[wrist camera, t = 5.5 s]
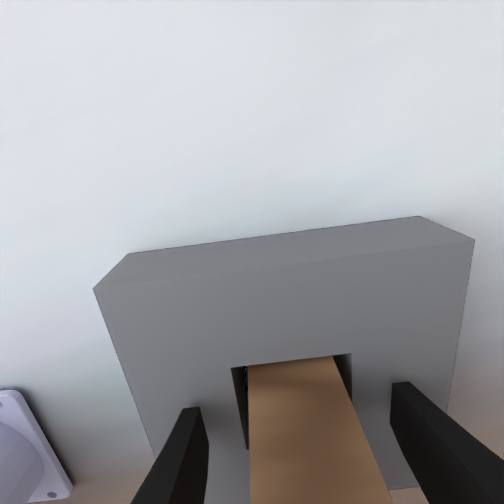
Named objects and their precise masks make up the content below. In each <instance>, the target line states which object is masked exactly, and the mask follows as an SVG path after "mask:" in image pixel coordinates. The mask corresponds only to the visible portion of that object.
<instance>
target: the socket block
mask: <svg viewBox="0 0 504 504" xmlns="http://www.w3.org/2000/svg"><path fill="white" fill-rule="evenodd" d="M474 242H475V239H472V238H470V237H468V236H465V235H463V234H461V233H458V232H456V231H454V230H451V229H449V228H446V227H444V226H442V225H439V224H437V223H435V222H432V221H430V220H428V219H425V218H423V217H421V216H414V217H407V218H399V219H391V220H384V221H376V222H368V223H361V224H353V225H345V226H337V227H330V228H322V229H314V230H307V231H299V232H291V233H284V234H276V235H268V236H260V237H253V238H245V239H237V240H230V241H222V242H214V243H207V244H199V245H191V246H183V247H176V248H168V249H160V250H153V251H145V252H137V253H130V254H127V255H126V256H125V257H124V258H123V259H122V260H121V261H120V262H119V263H118V264H117V265H116V266H115V267H114V268H113V269H112V270H111V271H110V272H109V273H108V274H107V275H106V276H105V277H104V278H103V279H102V280H101V281H100V282H99V283H98V284H97V285H96V286H95V287H94V288H93V291H94V294H95V297H96V299H97V302H98V305H99V307H100V310H101V313H102V315H103V318H104V321H105V324H106V326H107V329H108V332H109V334H110V337H111V340H112V342H113V345H114V348H115V350H116V353H117V356H118V359H119V361H120V364H121V367H122V369H123V372H124V375H125V377H126V380H127V383H128V385H129V388H130V391H131V394H132V396H133V399H134V402H135V404H136V407H137V410H138V412H139V415H140V418H141V421H142V423H143V426H144V429H145V431H146V434H147V437H148V439H149V442H150V445H151V447H152V450H153V453H154V456H155V458H156V459H157V457H158V455H159V454H160V452H161V450H162V448H163V446H164V444H165V442H166V441H167V439H168V437H169V435H170V433H171V431H172V429H173V427H174V425H175V423H176V421H177V419H178V416H179V414H180V412H181V410H182V409H183V408H190V407H199V406H200V410H201V414H202V418H203V422H204V426H205V429H206V433H207V437H208V441H209V463H208V478H207V485H206V492H205V499H204V504H251V494H250V450H249V407H248V391H246V390H245V385H244V379H243V374H242V368H241V366H249V365H257V364H266V363H274V362H282V361H290V360H298V359H306V358H315V357H323V356H331V355H332V357H333V359H334V362H335V364H336V366H337V369H338V371H339V374H340V376H341V378H342V381H343V383H344V386H345V388H346V390H347V393H348V395H349V398H350V400H351V402H352V405H353V407H354V410H355V412H356V414H357V417H358V419H359V422H360V424H361V426H362V429H363V431H364V434H365V436H366V438H367V441H368V443H369V446H370V448H371V450H372V453H373V455H374V458H375V460H376V462H377V465H378V467H379V470H380V472H381V475H382V477H383V479H384V482H385V484H386V487H387V489H388V490H395V489H404V488H413V487H420V485H419V484H418V482H417V480H416V478H415V476H414V474H413V472H412V471H411V469H410V467H409V465H408V463H407V461H406V459H405V457H404V456H403V454H402V451H401V449H400V447H399V444H398V442H397V440H396V437H395V435H394V432H393V430H392V427H391V425H390V408H391V394H392V383H398V382H406V381H409V382H410V383H412V384H413V385H414V386H415V387H416V388H417V389H419V390H420V391H421V392H422V393H423V394H424V395H425V396H426V397H428V398H429V399H430V400H431V401H432V402H433V403H434V404H435V405H437V406H438V407H439V408H440V409H441V410H442V411H444V412H445V413H446V412H447V406H448V400H449V394H450V388H451V382H452V375H453V369H454V363H455V357H456V351H457V345H458V339H459V333H460V327H461V321H462V315H463V309H464V303H465V297H466V291H467V285H468V279H469V273H470V267H471V261H472V255H473V249H474Z"/></svg>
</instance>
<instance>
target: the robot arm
mask: <svg viewBox="0 0 504 504" xmlns="http://www.w3.org/2000/svg"><path fill="white" fill-rule="evenodd" d="M390 425H391V427H392V430H393V432H394V435H395V437H396V440H397V442H398V444H399V447H400V449H401V451H402V454H403V456H404V457H405V459H406V461H407V463H408V465H409V467H410V469H411V471H412V472H413V474H414V476H415V478H416V480H417V482H418V484H419V485H420V487H421V489H422V491H423V493H424V495H425V496H426V498H427V500H428V502H429V504H504V460H503V459H501V458H500V457H499V456H497V455H496V454H495V453H493V452H492V451H491V450H490V449H488V448H487V447H486V446H485V445H483V444H482V443H481V442H480V441H478V440H477V439H476V438H475V437H473V436H472V435H471V434H470V433H469V432H467V431H466V430H465V429H464V428H462V427H461V426H460V425H459V424H458V423H456V422H455V421H454V420H453V419H452V418H451V417H449V416H448V415H447V414H446V413H445V412H444V411H442V410H441V409H440V408H439V407H438V406H437V405H435V404H434V403H433V402H432V401H431V400H430V399H429V398H428V397H426V396H425V395H424V394H423V393H422V392H421V391H420V390H419V389H417V388H416V387H415V386H414V385H413V384H412V383H410V382H409V381H406V382H398V383H392V394H391V408H390ZM208 463H209V441H208V437H207V433H206V429H205V426H204V422H203V418H202V414H201V410H200V406H199V407H190V408H183V409H182V410H181V412H180V414H179V416H178V419H177V421H176V423H175V425H174V427H173V429H172V431H171V433H170V435H169V437H168V439H167V441H166V442H165V444H164V446H163V448H162V450H161V452H160V454H159V455H158V457H157V459H156V461H155V463H154V464H153V466H152V468H151V470H150V472H149V473H148V475H147V477H146V479H145V480H144V482H143V483H142V485H141V487H140V488H139V490H138V492H137V493H136V495H135V497H134V498H133V500H132V502H131V503H130V504H204V499H205V492H206V485H207V478H208ZM72 490H73V486H72V484H71V482H70V480H69V478H68V477H67V475H66V473H65V471H64V469H63V468H62V466H61V464H60V462H59V460H58V459H57V457H56V455H55V453H54V451H53V450H52V448H51V446H50V444H49V442H48V441H47V439H46V437H45V435H44V433H43V432H42V430H41V428H40V426H39V424H38V423H37V421H36V419H35V417H34V416H33V414H32V412H31V410H30V408H29V407H28V405H27V403H26V401H25V399H24V398H23V396H22V394H21V393H20V392H18V391H16V390H2V391H0V504H27V503H32V502H40V501H49V500H58V499H65V498H67V497H69V496H70V494H71V492H72Z"/></svg>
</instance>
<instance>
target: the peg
mask: <svg viewBox="0 0 504 504" xmlns="http://www.w3.org/2000/svg"><path fill="white" fill-rule="evenodd" d="M248 407H249V450H250V494H251V504H394V503H393V501H392V499H391V496H390V494H389V491H388V489H387V487H386V484H385V482H384V479H383V477H382V475H381V472H380V470H379V467H378V465H377V462H376V460H375V458H374V455H373V453H372V450H371V448H370V446H369V443H368V441H367V438H366V436H365V434H364V431H363V429H362V426H361V424H360V422H359V419H358V417H357V414H356V412H355V410H354V407H353V405H352V402H351V400H350V398H349V395H348V393H347V390H346V388H345V386H344V383H343V381H342V378H341V376H340V374H339V371H338V369H337V366H336V364H335V362H334V359H333V357H332V355H331V356H323V357H315V358H306V359H298V360H290V361H282V362H274V363H266V364H257V365H249V366H248Z"/></svg>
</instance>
